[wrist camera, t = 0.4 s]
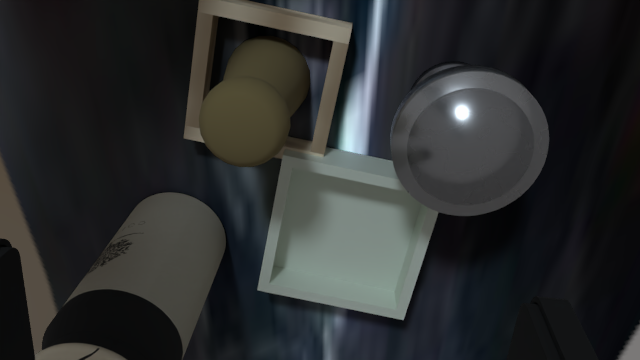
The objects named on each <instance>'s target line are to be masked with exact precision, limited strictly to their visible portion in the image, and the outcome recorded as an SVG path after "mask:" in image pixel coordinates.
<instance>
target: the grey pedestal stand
mask: <svg viewBox="0 0 640 360" xmlns="http://www.w3.org/2000/svg"><path fill="white" fill-rule="evenodd" d="M390 142H391V153H392V161H393V165H394V169H395V172H396V174H397V177H398V178H399V180H400V182H401V184H402V185H403V187H404V188H405V189H406V191H407V192H408V193H409V194H410V195H411V196H412V197H413V198H414V199H416V200H417V201H418V202H420V203H421V204H423V205H424V206H426V207H428V208H430V209H432V210H435V211H437V212H440V213H444V214H448V215H455V216H474V215H480V214H485V213H489V212H492V211H495V210H497V209H500V208H502V207H504V206H506V205H508V204H509V203H511V202H513V201H514V200H516V199H517V198H518V197H520V196H521V195H522V194H523V193H524V192H525V191H526V190H527V189H528V188H529V187H530V186H531V185H532V184H533V182H534V181H535V180H536V178H537V177H538V175H539V173H540V172H541V170H542V167H543V165H544V163H545V160H546V157H547V152H548V147H549V131H548V125H547V121H546V118H545V115H544V113H543V111H542V108H541V107H540V105H539V104H538V102H537V101H536V99H535V98H534V97H533V96H532V95H531V93H530V92H529V91H528V90H527V89H526V88H525V86H524V85H523V84H522V83H520V82H519V81H518V80H517V79H516V78H514V77H512V76H511V75H509V74H508V73H505V72H503V71H501V70H499V69H495V68H492V67H488V66H482V65H470V64H467V63H463V62H445V63H440V64H438V65H435V66H433V67H431V68H429V69H428V70H426V71H425V72H424V73H423V74H422V75H420V77H419V78H418V79H417V80H416V82H415V83H414V84H413V86H412V88H411V91H410V92H409V93H408V95H407V96H406V97H405V98H404V100H403V101H402V103H401V104H400V106H399V108H398V110H397V112H396V114H395V117H394V120H393V123H392V128H391V139H390Z"/></svg>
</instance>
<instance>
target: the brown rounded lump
mask: <svg viewBox="0 0 640 360" xmlns="http://www.w3.org/2000/svg"><path fill="white" fill-rule="evenodd" d="M309 87H310V71H309V68H308V65H307V63H306V60H305V58H304V57H303V55H302V54H301V53H300V51H299V50H298V49H297V48H296V47H295V46H293V45H292V44H290V43H289V42H288V41H286V40H284V39H281V38H278V37H274V36H257V37H254V38H251V39H248V40H246V41H244V42H243V43H242V44H241V45H239V46H238V47H237V48H236V49H235V50H234V52H233V53H232V55H231V57H230V58H229V60H228V64H227V67H226V71H225V75H224V79H223V81H222V82H220V83H219V84H218V85H217V86H215V87H214V88H213V89H211V91H210V92H209V93H208V95H207V96H206V98H205V99H204V101H203V103H202V105H201V109H200V114H199V127H200V134H201V136H202V138H203V140H204V143H205V145H206V146H207V147H208V149H209V150H210V151H211V152H212V153H213V154H214V155H215V156H216V157H218V158H219V159H221V160H222V161H224V162H226V163H228V164H231V165H235V166H238V167H254V166H257V165H260V164H263V163H266V162H267V161H269V160H270V159H271V158H273V157H274V156H276V155H277V154H278V153H279V152H280V150H281V149H282V148H283V146H284V145H285V143H286V141H287V137H288V134H289V130H290V127H291V125H290V117H291V116H292V115H293V114H294V113H295V111H296V110H297V109H298V108H299V107H300V105H301V104H302V102H303V101H304V100H305V98H306V97H307V93H308V90H309Z"/></svg>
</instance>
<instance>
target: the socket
mask: <svg viewBox="0 0 640 360" xmlns="http://www.w3.org/2000/svg"><path fill="white" fill-rule="evenodd" d="M219 16H220V17H225V18H229V19H234V20H239V21H243V22H248V23H253V24H257V25H262V26H266V27H271V28H276V29H280V30H285V31H290V32H294V33H299V34H303V35H308V36H313V37H317V38H322V39H327V40H331V41H333V46H332V51H331V55H330V60H329V65H328V70H327V74H326V79H325V84H324V89H323V93H322V98H321V103H320V108H319V112H318V117H317V122H316V127H315V131H314V136H313V141H308V140H303V139H298V138H293V137H289V136H288V137H287V141H286V143H285V145H284V146H283V148H282V149H281V150H280V152H279V153H278V154H277V155H276V156H274V157H275V158H279V159H282V158H283V153H284V150H285V149H287V150H291V151H296V152H301V153H306V154H310V155H315V156H320V157H324V153H325V148H326V144H327V139H328V135H329V130H330V126H331V121H332V117H333V112H334V108H335V103H336V99H337V94H338V90H339V85H340V81H341V76H342V71H343V67H344V62H345V58H346V53H347V49H348V44H349V40H350V35H351V31H352V23H349V22H344V21H340V20H335V19H331V18H326V17H321V16H317V15H312V14H307V13H303V12H298V11H294V10H289V9H284V8H280V7H275V6H271V5H266V4H261V3H257V2H252V1H248V0H199V5H198V14H197V23H196V32H195V41H194V50H193V59H192V68H191V77H190V86H189V95H188V104H187V113H186V122H185V131H184V139H189V140H194V141H199V142H203V143H204V140H203V138H202V136H201V134H200V127H199V114H200V109H201V105H202V103H203V101H204V99H205V98H206V96H207V95H208V93H209V89H210V81H211V73H212V65H213V57H214V50H215V42H216V34H217V26H218V18H219Z"/></svg>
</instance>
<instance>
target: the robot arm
mask: <svg viewBox="0 0 640 360" xmlns="http://www.w3.org/2000/svg"><path fill="white" fill-rule="evenodd" d="M0 360H35V355H34V349H33V341H32V335H31V328H30V322H29V314H28V307H27V300H26V294H25V287H24V280H23V273H22V266H21V260H20V254H19V252H18V250H17V249H16V248H12V246H11V244H10V242H9V241H8V240H6V239H0ZM507 360H598V358H597V356H596V354H595V352H594V350H593V348H592V346H591V344H590V342H589V340H588V338H587V336H586V334H585V332H584V330H583V328H582V326H581V324H580V322H579V320H578V318H577V316H576V314H575V312H574V310H573V308H572V306H571V304H570V303H569V301H568V300H565V299H555V298H546V297H537V296H535V297H534V298H533V299H532V301H531V303H530V304H527V303H523V304H522V305H521V306H520V309H519V313H518V317H517V321H516V325H515V329H514V333H513V337H512V340H511V344H510V348H509V352H508V356H507Z"/></svg>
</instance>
